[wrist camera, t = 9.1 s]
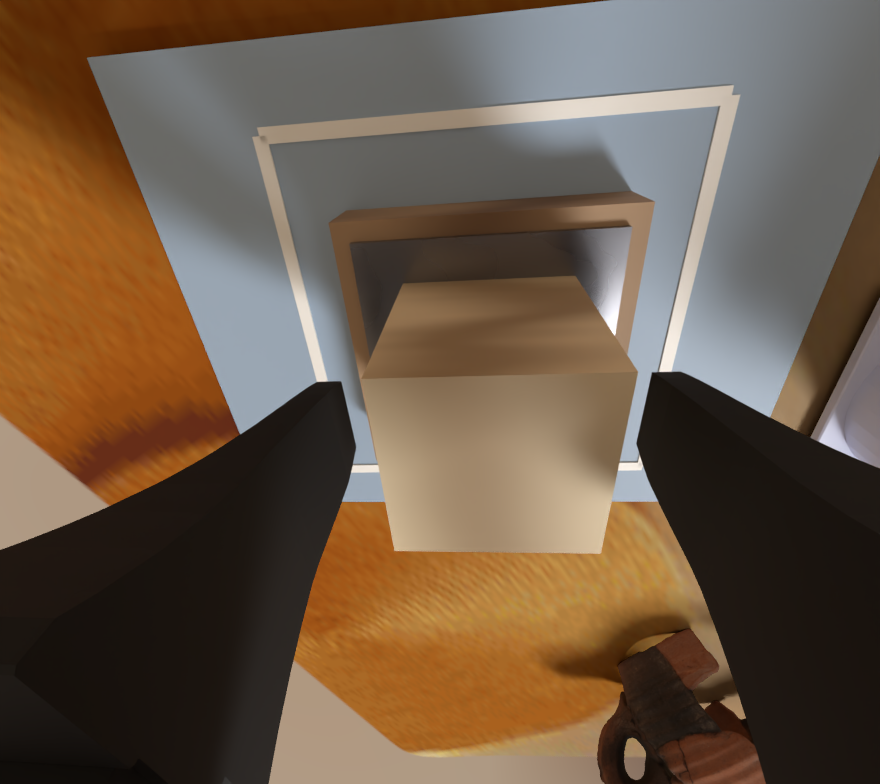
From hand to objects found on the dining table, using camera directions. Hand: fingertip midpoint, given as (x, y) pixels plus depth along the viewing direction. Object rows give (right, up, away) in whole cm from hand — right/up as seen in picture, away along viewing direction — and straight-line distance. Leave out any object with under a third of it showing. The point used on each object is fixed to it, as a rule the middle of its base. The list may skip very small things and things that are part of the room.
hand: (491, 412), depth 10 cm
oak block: (0, +2, +2) cm, 3 cm away
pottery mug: (+13, -17, +16) cm, 27 cm away
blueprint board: (0, +3, +4) cm, 5 cm away
